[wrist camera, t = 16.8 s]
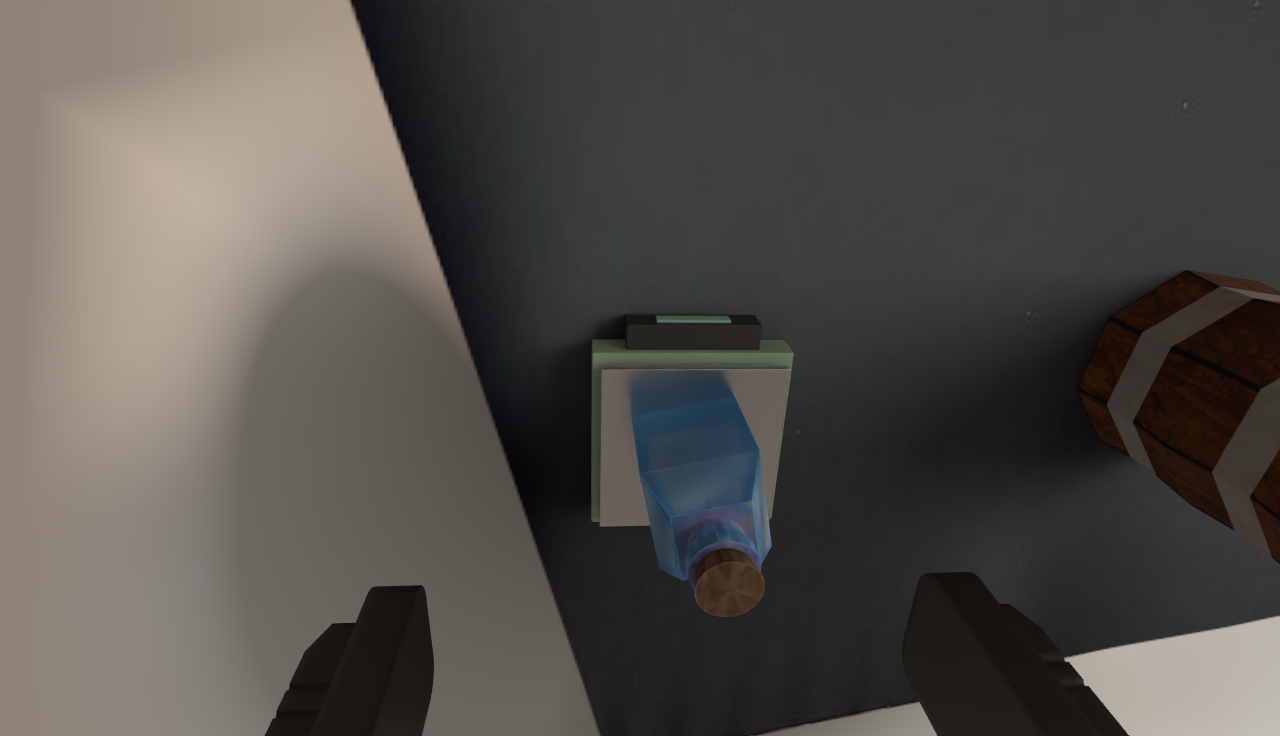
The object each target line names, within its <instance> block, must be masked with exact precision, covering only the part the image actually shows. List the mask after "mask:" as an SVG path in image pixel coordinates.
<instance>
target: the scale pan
mask: <svg viewBox="0 0 1280 736" xmlns="http://www.w3.org/2000/svg"><path fill="white" fill-rule="evenodd" d="M789 372H790V369H789V367H788V366H787V365H602V366H601V418H600V517H599V522H600V527H609V526H650V521H649V517H648V512H647V507H646V503H645V498H644V494H643V489H642V484H641V480H640V475H639V468H638V461H637V454H636V447H635V439H634V432H633V425H632V418H631V416H634V415H639V414H644V413H649V412H654V411H659V410H664V409H669V408H674V407H679V406H685V405H690V404H695V403H700V402H705V401H710V400H715V399H720V398H725V397H730V396H735V398H736V400H737V402H738V404H739V406H740V409H741V411H742V413H743V415H744V417H745V419H746V422H747V424H748V426H749V428H750V430H751V432H752V435H753V437H754V439H755V441H756V443H757V446H758V448H759V450H760V457H761V465H762V473H763V481H764V489H765V497H766V506H767V514H768V522H769V520H770V513H771V506H772V498H773V491H774V483H775V476H776V469H777V461H778V454H779V446H780V439H781V432H782V424H783V417H784V409H785V402H786V395H787V387H788V380H789Z"/></svg>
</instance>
